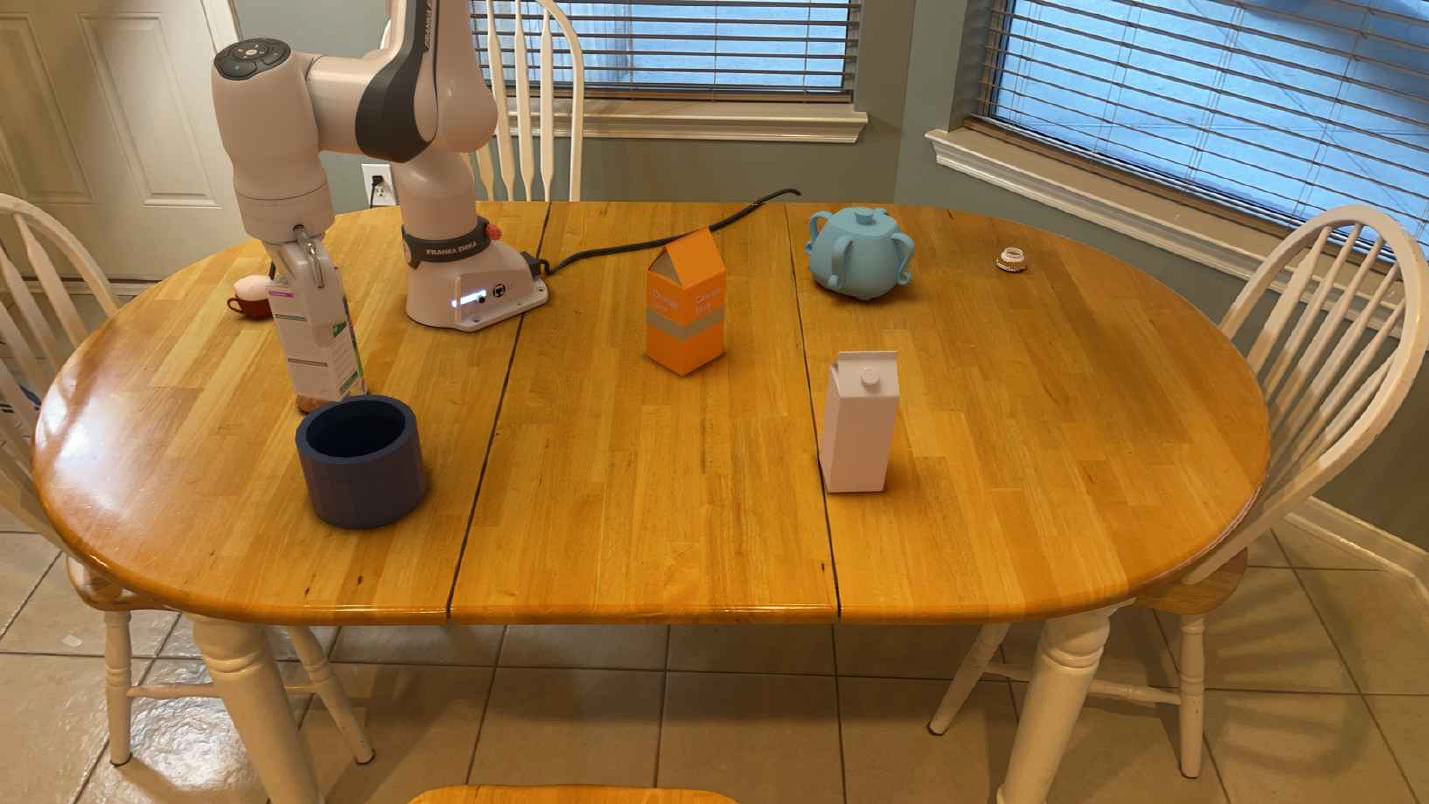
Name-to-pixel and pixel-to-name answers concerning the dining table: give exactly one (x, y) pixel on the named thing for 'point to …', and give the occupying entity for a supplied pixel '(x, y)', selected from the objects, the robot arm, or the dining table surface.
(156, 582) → the dining table surface
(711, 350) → the orange juice
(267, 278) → the cocoa
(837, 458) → the milk carton
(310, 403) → the pastry
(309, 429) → the dark blue bin
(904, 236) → the decorative pot
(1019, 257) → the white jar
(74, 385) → the dining table surface
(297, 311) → the syrup box
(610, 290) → the dining table surface
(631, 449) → the dining table surface
